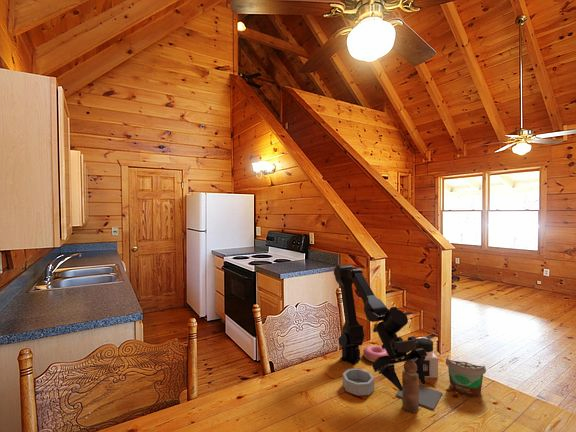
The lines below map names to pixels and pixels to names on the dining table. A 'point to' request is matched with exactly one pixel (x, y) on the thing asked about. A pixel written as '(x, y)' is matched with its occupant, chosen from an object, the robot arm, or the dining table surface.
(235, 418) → the dining table surface
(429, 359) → the container
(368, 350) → the doughnut
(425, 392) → the mat
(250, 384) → the dining table surface
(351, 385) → the bowl
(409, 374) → the pepper mill
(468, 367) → the food container
